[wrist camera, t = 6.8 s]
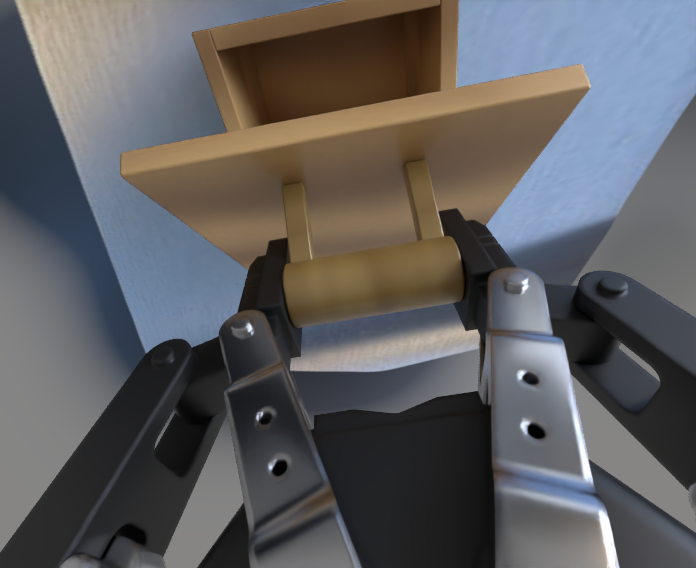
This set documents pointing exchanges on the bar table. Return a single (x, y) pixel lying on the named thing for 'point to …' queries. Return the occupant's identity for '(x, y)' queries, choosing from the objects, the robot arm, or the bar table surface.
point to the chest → (329, 58)
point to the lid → (362, 189)
